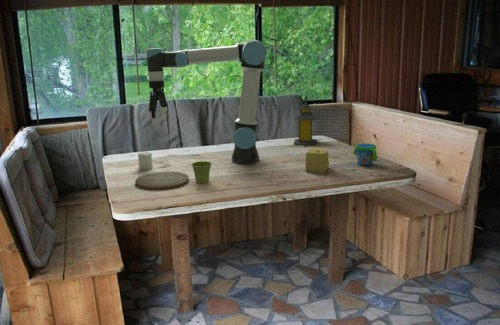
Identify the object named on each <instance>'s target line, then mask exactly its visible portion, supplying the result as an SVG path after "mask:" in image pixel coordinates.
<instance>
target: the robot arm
mask: <svg viewBox="0 0 500 325" xmlns="http://www.w3.org/2000/svg"><path fill="white" fill-rule="evenodd" d="M267 53H268V52H267V48H266V46H265V44H264V43H263V42H262V41H260V40H258V39H250V40H247V41H243V42H237V43H236V44H235V45H226V46H215V47H205V48H195V49H185V50H175V51H163V50H162V48H161V47H153V48H152V47H151V48H147V49H146V64H147V73H146V74H147V77H148V78H147V79H148V87H149V89H152V91H151V90H150V91H149V105H148V112H150V115H151V116H150V117H151V125H152V126H153V125H154V126H155V125H158V124H159V123H158V113H157V112H158V111H157V105H158V103H159V105H160V120H161V121H166V120H167V108H168V102H167V98H166V94H165V89H164V88H165V80H164V78H165V74H164V68H179V69H180V68H184V67H187V66H190V65H199V64H211V63H221V62H222V63H223V62H224V63H225V62H232V61H233V62H234V61H236V62H239V63H240V67H241V68H240V69H242V70H243V71H242V72H243V73H242V81H241V90H240V91H241V92H240V100H239V109H238V110H239V111H238V117H237V118H236V119H235V120H234V121H233V135H232V140H233V142H234V147H233V148H234V149H233V151H232V155H231V162H232V163H234V164H243V165H246V164H247V165H248V164H254V163H255V164H256V163H257V162H259V161H260V155H259V151H258V149H257V145H256V144H257V140H258V138H257V137H258V136H257V133H258V125H259V123H258V121H257V120H256V116H257V107H258V98H259V97H258V96H259V90H260V80H261V72H263V71H264V70H265V63H266V59H267V58H266V57H267Z"/></svg>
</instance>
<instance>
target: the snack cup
mask: <svg viewBox="0 0 500 325" xmlns="http://www.w3.org/2000/svg"><path fill="white" fill-rule="evenodd" d="M354 145H355V146H354V150H353V154H354V156H356V161H357V165H360V166H371V165H373V163H374V162H376V161H377V159H378V156H377V155H378V154H377V151H376V149H377V145H375V144H373V143H357V144H354Z"/></svg>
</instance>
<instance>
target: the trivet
mask: <svg viewBox="0 0 500 325" xmlns="http://www.w3.org/2000/svg"><path fill="white" fill-rule="evenodd" d="M189 181H190V178H189V175H188V174H186V173H183V172H179V171H156V172H150V173H146V174H143V175H140V176H138V177H137V178H136V179H135V186H136V187H137V188H139V189H141V190H147V191H148V190H149V191H166V190H173V189H176V188H177V189H178V188H180V187H183V186H185V185H187V184H188V183H189Z"/></svg>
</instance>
